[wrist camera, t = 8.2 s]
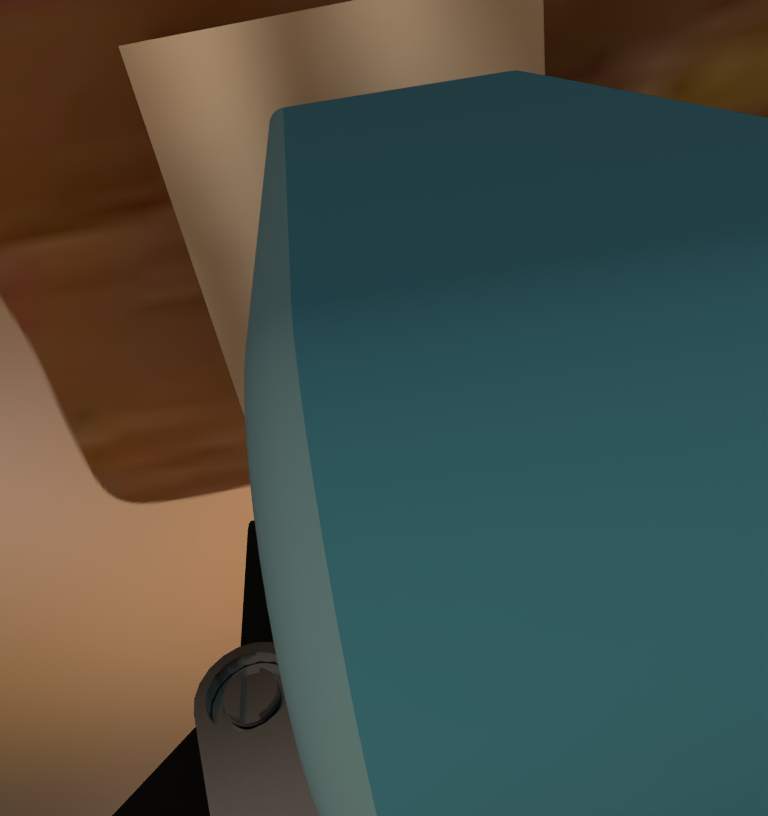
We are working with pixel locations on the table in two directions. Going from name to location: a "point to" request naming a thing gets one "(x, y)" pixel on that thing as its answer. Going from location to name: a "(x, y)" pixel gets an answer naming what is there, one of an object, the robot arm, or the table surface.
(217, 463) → the table surface
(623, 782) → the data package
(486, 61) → the birch riser block
